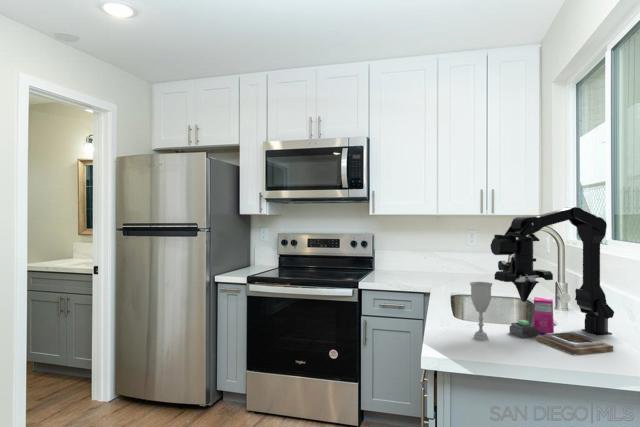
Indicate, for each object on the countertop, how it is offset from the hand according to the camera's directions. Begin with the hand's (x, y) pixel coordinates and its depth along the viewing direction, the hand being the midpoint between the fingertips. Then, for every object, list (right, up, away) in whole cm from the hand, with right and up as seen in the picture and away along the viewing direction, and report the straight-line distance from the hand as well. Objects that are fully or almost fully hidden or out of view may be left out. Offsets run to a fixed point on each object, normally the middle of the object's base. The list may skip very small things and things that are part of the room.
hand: (523, 301), depth 136 cm
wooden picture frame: (+10, -11, -11) cm, 18 cm away
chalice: (-16, -11, -5) cm, 21 cm away
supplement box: (+8, -11, +3) cm, 14 cm away
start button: (0, -8, 0) cm, 8 cm away
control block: (0, -11, 0) cm, 11 cm away
